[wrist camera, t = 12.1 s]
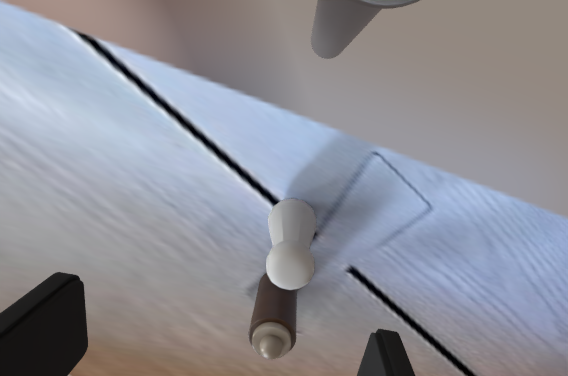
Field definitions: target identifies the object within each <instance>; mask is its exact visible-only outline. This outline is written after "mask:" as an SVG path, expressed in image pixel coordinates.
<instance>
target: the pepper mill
mask: <svg viewBox="0 0 568 376" xmlns="http://www.w3.org/2000/svg"><path fill="white" fill-rule="evenodd" d="M296 310H297V289H293V290H288V289H283V288H280V287H278V286H277V285H275V284H274V283H272V282H271V280H270V278H269V276H268V275H267V273H266V274H265V275H264V276H263V277H262V278H261V280H260V283H259V288H258V292H257V297H256V301H255V306H254V311H253V315H252V320H251V325H250V329H249V341H250V343H251V345H252V346H253V348H254V350H255V351H256V352H257V353H258V354H259V355H261V356H263V357H264V358H266V359H269V360H273V359H276V358H280V357H282V356H284V355H285V354H287V353H288V352H289V351H290V350H291V349H292V348H293V346H294V344H295V342H296Z"/></svg>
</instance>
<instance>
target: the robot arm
mask: <svg viewBox="0 0 568 376" xmlns="http://www.w3.org/2000/svg"><path fill="white" fill-rule="evenodd" d="M87 347H88V337H87V323H86V310H85V296H84V284H83V282H82V281H80V278H79V276H77V275H73V274H67V273H61V272H57V273H55V274H53V275H52V276H50V277H49V278H47V279H46V280H45V281H43V282H42V283H41V284H39V285H38V286H37V287H35V288H34V289H33V290H31V291H30V292H29V293H27V294H26V295H24V296H23V297H22V298H20V299H19V300H18V301H16V302H15V303H14V304H12V305H11V306H10V307H8V308H7V309H5V310H4V311H3V312H1V313H0V376H67V375H68V374H69V373H70V372H71V371H72V369H73V368H74V367H75V366H76V365H77V363H78V362H79V361H80V360H81V358H82V357H83V356H84V354H85V352H86V350H87ZM357 376H415V374H414V371H413V369H412V366H411V364H410V361H409V359H408V356H407V353H406V351H405V348H404V346H403V343H402V341H401V338H400V336H399V334H398V333H397V332H394V331H389V330H383V329H378V330H377V332H376V333H371V335H370V338H369V341H368V344H367V347H366V350H365V353H364V356H363V359H362V362H361V365H360V368H359V371H358V374H357Z"/></svg>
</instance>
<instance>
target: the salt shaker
mask: <svg viewBox="0 0 568 376" xmlns="http://www.w3.org/2000/svg"><path fill="white" fill-rule="evenodd" d="M316 219H317V217H316V215H315V213H314V211H313V209H312V207H311V206H310V205H308V204H307V203H306V202H304V201H303V200H299V199H294V198H291V199H286V200H282V201H280V202H279V203H278V204H276V205H275V206H274V207H273V208H272V210H271V212H270V214H269V216H268V226H269V231H270V235H271V240H272V244H273V248H272V249H271V251H270V253H269V254H268V256H267V259H266V268H267V275H268V276H269V278H270V280H271V282H272V283H274V284H275V285H277V286H278V287H280V288H283V289H288V290H293V289H299V288H301V287H303V286H305V285H306V284H308V283H309V281H310V280H311V278H312V276H313V274H314V257H313V255H312V253H311V251H310V246H311V243H312V239H313V236H314V233H315V230H316Z"/></svg>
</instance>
